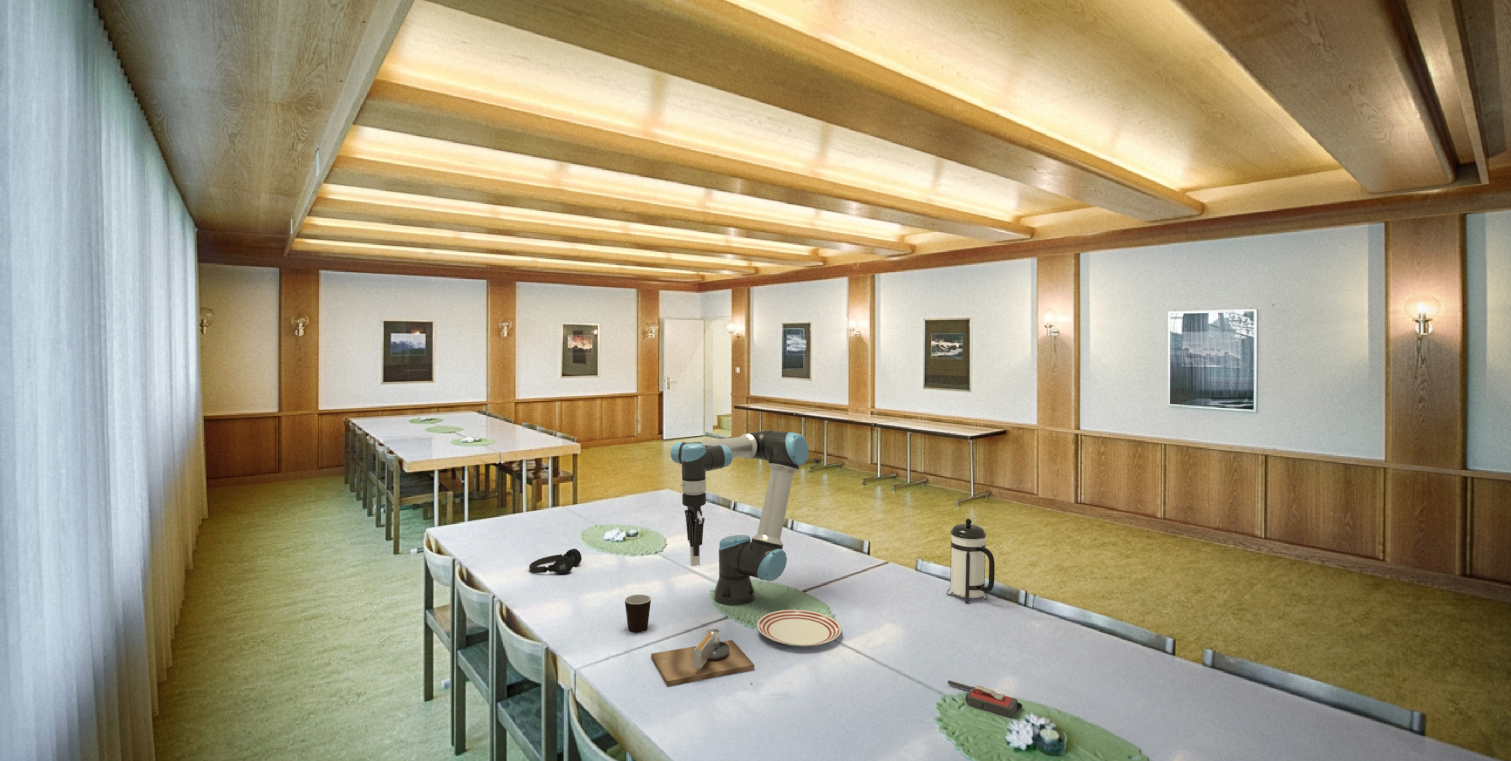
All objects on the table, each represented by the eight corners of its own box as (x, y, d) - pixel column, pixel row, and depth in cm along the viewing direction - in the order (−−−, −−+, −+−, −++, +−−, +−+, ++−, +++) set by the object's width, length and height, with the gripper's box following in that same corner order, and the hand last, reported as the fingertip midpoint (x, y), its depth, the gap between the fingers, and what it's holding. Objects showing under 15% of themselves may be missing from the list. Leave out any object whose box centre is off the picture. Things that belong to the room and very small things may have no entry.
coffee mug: (645, 635, 214) (645, 605, 214) (620, 632, 216) (620, 602, 215) (657, 621, 225) (657, 592, 225) (634, 619, 227) (634, 590, 227)
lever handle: (702, 643, 204) (702, 622, 204) (733, 647, 201) (733, 626, 201) (680, 670, 187) (680, 647, 186) (714, 675, 184) (714, 651, 184)
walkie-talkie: (1024, 706, 173) (948, 684, 184) (1024, 690, 173) (949, 669, 184) (1016, 722, 166) (938, 698, 177) (1016, 705, 166) (938, 682, 177)
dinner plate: (848, 624, 224) (848, 615, 224) (831, 659, 198) (831, 648, 198) (771, 614, 233) (771, 604, 233) (745, 646, 207) (745, 635, 207)
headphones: (567, 557, 270) (521, 563, 272) (569, 575, 270) (524, 580, 272) (583, 546, 286) (539, 551, 289) (585, 562, 287) (542, 567, 289)
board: (732, 644, 208) (732, 639, 208) (754, 669, 191) (754, 664, 191) (651, 658, 198) (651, 653, 198) (667, 686, 181) (667, 680, 181)
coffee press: (944, 601, 246) (945, 522, 244) (948, 587, 260) (950, 512, 259) (993, 608, 239) (995, 527, 238) (995, 594, 254) (997, 517, 253)
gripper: (676, 489, 215) (677, 560, 216) (689, 497, 203) (690, 573, 204) (698, 487, 218) (699, 557, 219) (712, 495, 206) (713, 569, 207)
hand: (695, 564), depth 212 cm, fingers closed
